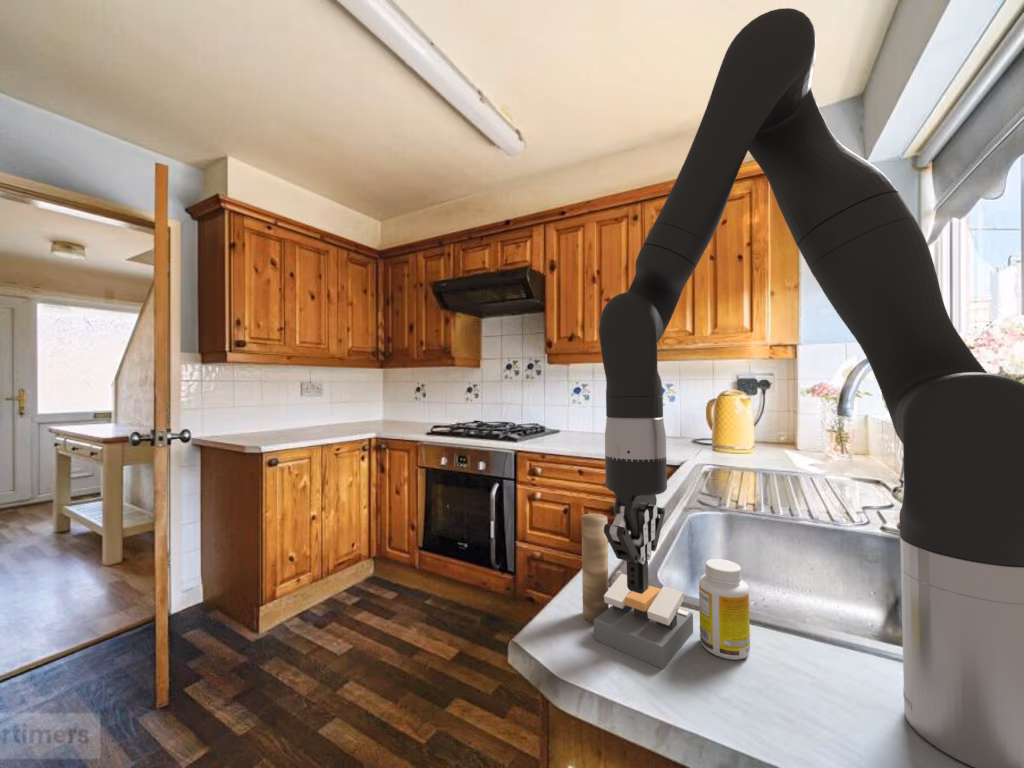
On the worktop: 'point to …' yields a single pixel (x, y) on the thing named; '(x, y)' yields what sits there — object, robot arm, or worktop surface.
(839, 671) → the worktop surface
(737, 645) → the supplement bottle
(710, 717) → the worktop surface
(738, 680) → the worktop surface
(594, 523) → the pine post
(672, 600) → the paddle near bottle
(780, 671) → the worktop surface
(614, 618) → the board
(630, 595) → the paddle middle
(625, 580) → the paddle near post
